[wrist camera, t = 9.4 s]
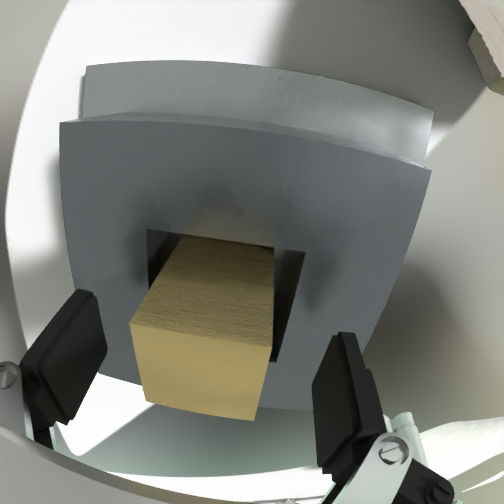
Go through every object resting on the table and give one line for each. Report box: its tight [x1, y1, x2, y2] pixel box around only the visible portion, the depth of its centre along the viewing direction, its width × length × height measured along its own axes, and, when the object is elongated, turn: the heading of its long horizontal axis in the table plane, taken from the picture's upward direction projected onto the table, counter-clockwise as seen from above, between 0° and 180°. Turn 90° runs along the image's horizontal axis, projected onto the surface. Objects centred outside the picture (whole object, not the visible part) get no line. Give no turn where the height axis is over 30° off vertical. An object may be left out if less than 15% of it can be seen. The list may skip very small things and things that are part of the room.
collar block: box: [59, 60, 434, 410], centre depth 16 cm, size 20×20×7 cm
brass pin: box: [129, 234, 275, 421], centre depth 13 cm, size 4×4×10 cm
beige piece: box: [459, 0, 504, 95], centre depth 9 cm, size 16×9×15 cm
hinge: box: [383, 412, 428, 468], centre depth 25 cm, size 14×5×10 cm, turn 20°
